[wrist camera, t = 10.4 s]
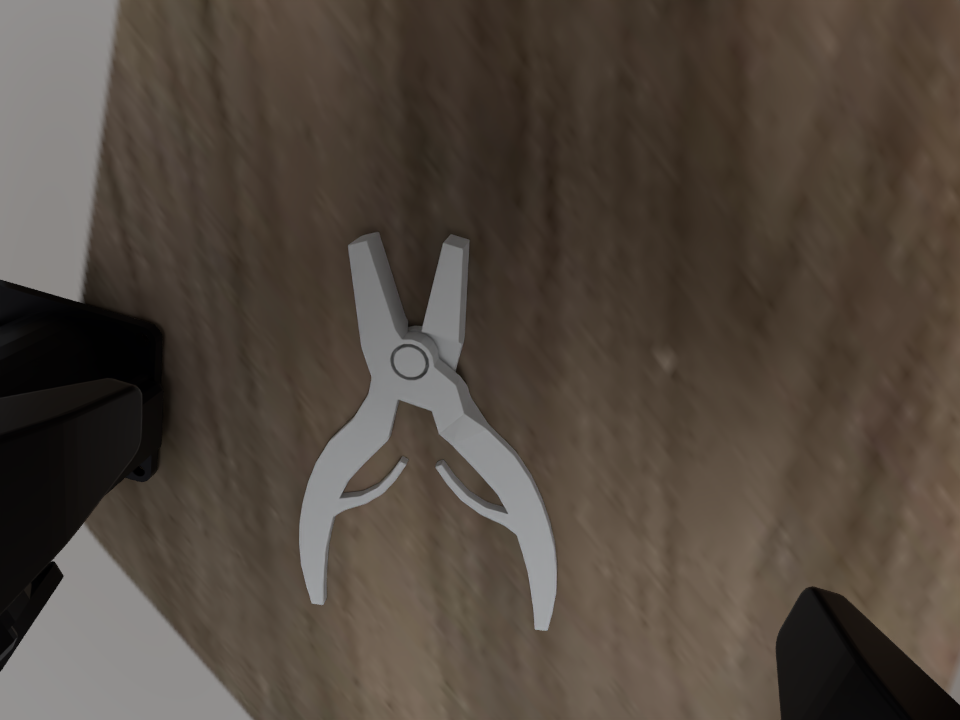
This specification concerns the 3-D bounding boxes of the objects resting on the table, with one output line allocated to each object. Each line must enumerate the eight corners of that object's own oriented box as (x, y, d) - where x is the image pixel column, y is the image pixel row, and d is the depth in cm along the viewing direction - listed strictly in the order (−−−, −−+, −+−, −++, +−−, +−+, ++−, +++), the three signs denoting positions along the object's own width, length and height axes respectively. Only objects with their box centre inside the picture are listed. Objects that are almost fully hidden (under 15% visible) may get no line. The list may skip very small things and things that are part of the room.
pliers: (297, 618, 27) (245, 236, 21) (312, 590, 28) (268, 225, 22) (552, 649, 25) (574, 248, 19) (555, 617, 27) (576, 236, 21)
